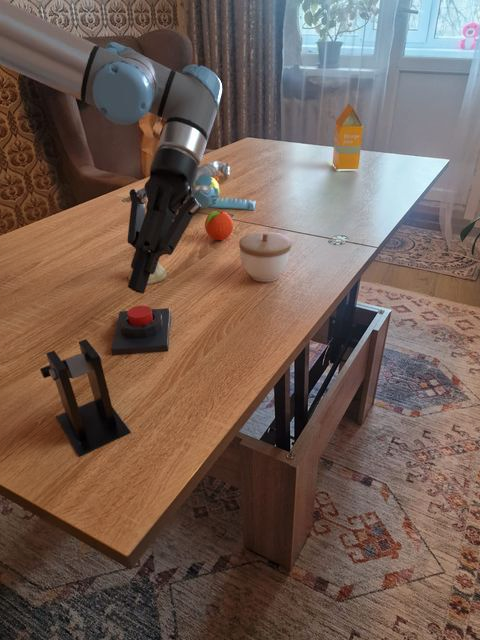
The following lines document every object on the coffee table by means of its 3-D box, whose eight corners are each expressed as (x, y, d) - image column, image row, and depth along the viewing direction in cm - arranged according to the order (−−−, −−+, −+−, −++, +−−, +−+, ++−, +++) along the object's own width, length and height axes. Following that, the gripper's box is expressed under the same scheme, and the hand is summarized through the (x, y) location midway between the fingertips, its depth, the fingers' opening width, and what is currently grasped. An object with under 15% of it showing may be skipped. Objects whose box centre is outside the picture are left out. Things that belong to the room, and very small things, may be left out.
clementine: (218, 248, 115) (216, 219, 111) (197, 241, 118) (194, 213, 114) (239, 237, 120) (238, 209, 116) (218, 231, 123) (217, 204, 119)
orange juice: (353, 164, 175) (359, 103, 164) (358, 171, 168) (365, 108, 157) (331, 165, 175) (336, 104, 163) (336, 172, 168) (341, 108, 156)
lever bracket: (57, 422, 67) (31, 347, 59) (106, 402, 70) (87, 328, 63) (81, 462, 61) (55, 384, 53) (132, 438, 64) (115, 361, 57)
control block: (113, 360, 78) (108, 340, 76) (121, 321, 88) (117, 302, 86) (169, 356, 79) (166, 336, 77) (171, 318, 89) (168, 299, 87)
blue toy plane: (256, 169, 139) (252, 186, 127) (257, 198, 144) (252, 217, 132) (161, 167, 141) (147, 184, 128) (165, 196, 146) (152, 215, 134)
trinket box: (275, 291, 97) (276, 248, 92) (230, 280, 101) (228, 237, 96) (298, 271, 105) (300, 229, 99) (255, 260, 109) (255, 220, 103)
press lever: (44, 381, 66) (37, 365, 66) (87, 365, 69) (81, 349, 69) (56, 385, 57) (48, 366, 56) (105, 366, 59) (98, 348, 59)
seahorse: (220, 187, 150) (236, 161, 164) (185, 173, 149) (204, 148, 163) (216, 201, 154) (232, 175, 168) (182, 187, 153) (201, 162, 167)
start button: (127, 327, 80) (125, 318, 79) (130, 314, 83) (128, 306, 82) (152, 325, 80) (150, 316, 79) (153, 313, 83) (152, 304, 82)
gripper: (220, 174, 82) (180, 304, 80) (156, 167, 87) (116, 290, 84) (203, 149, 75) (158, 290, 73) (134, 142, 80) (89, 275, 77)
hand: (135, 290), depth 78 cm, fingers closed
